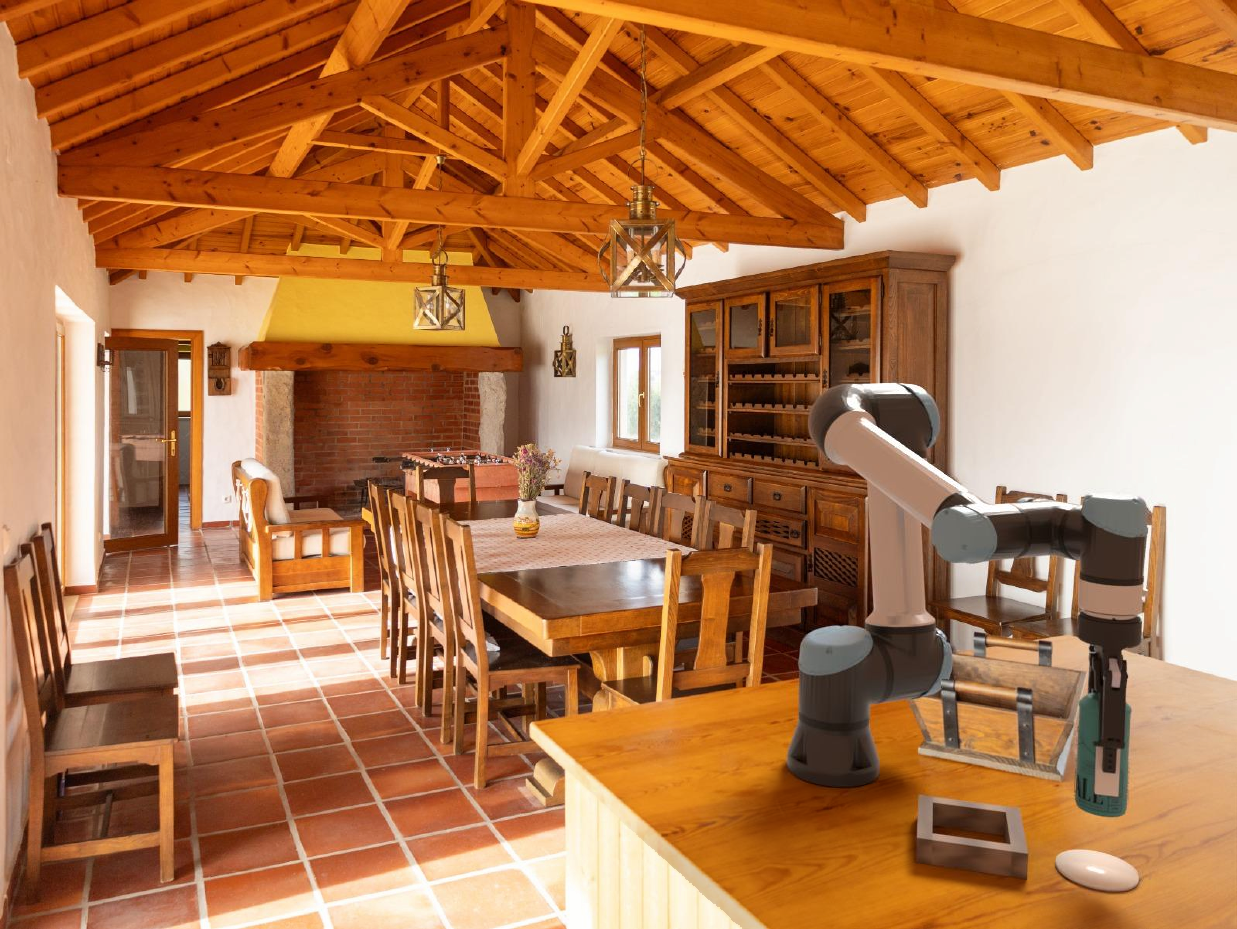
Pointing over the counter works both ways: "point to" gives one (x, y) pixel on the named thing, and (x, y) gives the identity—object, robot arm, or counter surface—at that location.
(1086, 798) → the beverage bottle
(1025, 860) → the holder
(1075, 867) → the coaster
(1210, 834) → the counter surface
